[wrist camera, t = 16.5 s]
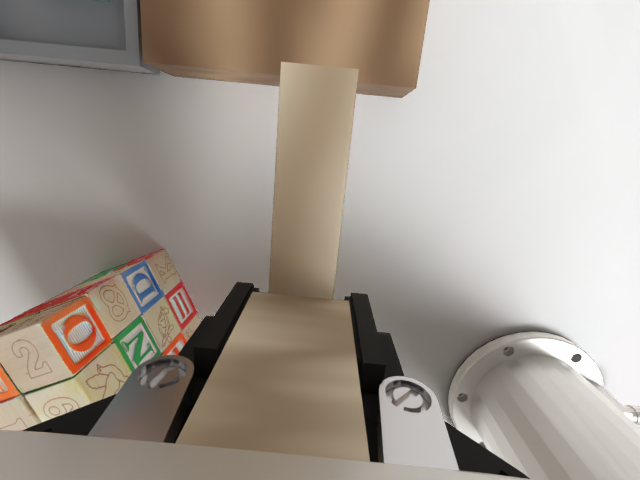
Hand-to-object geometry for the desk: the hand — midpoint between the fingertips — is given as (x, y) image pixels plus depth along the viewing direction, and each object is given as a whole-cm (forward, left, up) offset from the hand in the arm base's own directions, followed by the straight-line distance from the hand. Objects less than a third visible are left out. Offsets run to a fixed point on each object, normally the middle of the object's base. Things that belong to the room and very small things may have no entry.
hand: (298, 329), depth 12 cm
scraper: (0, 0, -2) cm, 2 cm away
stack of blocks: (+10, +14, -15) cm, 23 cm away
